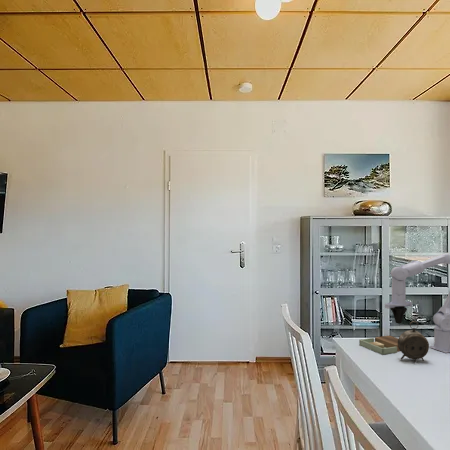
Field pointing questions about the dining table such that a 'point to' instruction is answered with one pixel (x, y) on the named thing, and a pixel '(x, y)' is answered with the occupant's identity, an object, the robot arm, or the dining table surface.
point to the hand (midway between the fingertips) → (398, 323)
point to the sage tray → (376, 347)
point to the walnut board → (388, 341)
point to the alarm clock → (413, 344)
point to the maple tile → (377, 344)
